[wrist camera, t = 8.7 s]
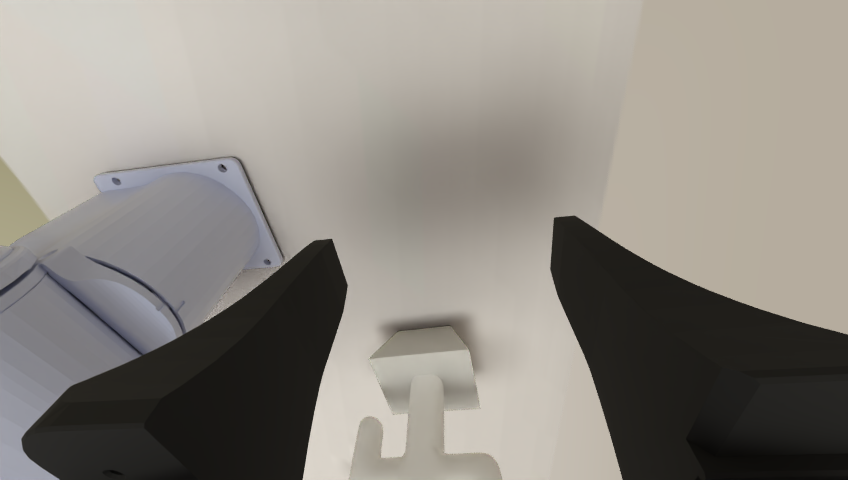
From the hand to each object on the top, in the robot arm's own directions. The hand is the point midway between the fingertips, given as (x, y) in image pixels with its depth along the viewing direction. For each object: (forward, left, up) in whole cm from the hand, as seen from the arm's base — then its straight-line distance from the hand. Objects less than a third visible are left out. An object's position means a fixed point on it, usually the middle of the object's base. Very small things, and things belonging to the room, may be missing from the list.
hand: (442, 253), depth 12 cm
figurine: (-3, -17, -11) cm, 20 cm away
